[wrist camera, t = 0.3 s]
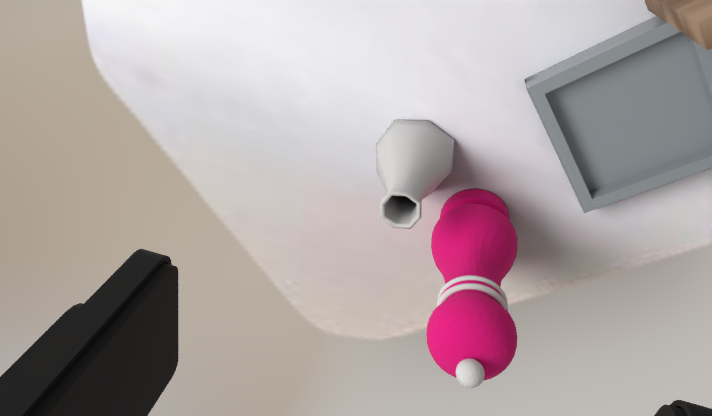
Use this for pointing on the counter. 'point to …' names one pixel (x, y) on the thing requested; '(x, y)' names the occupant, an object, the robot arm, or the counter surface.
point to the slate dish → (629, 112)
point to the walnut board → (686, 17)
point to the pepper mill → (473, 288)
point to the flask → (411, 168)
